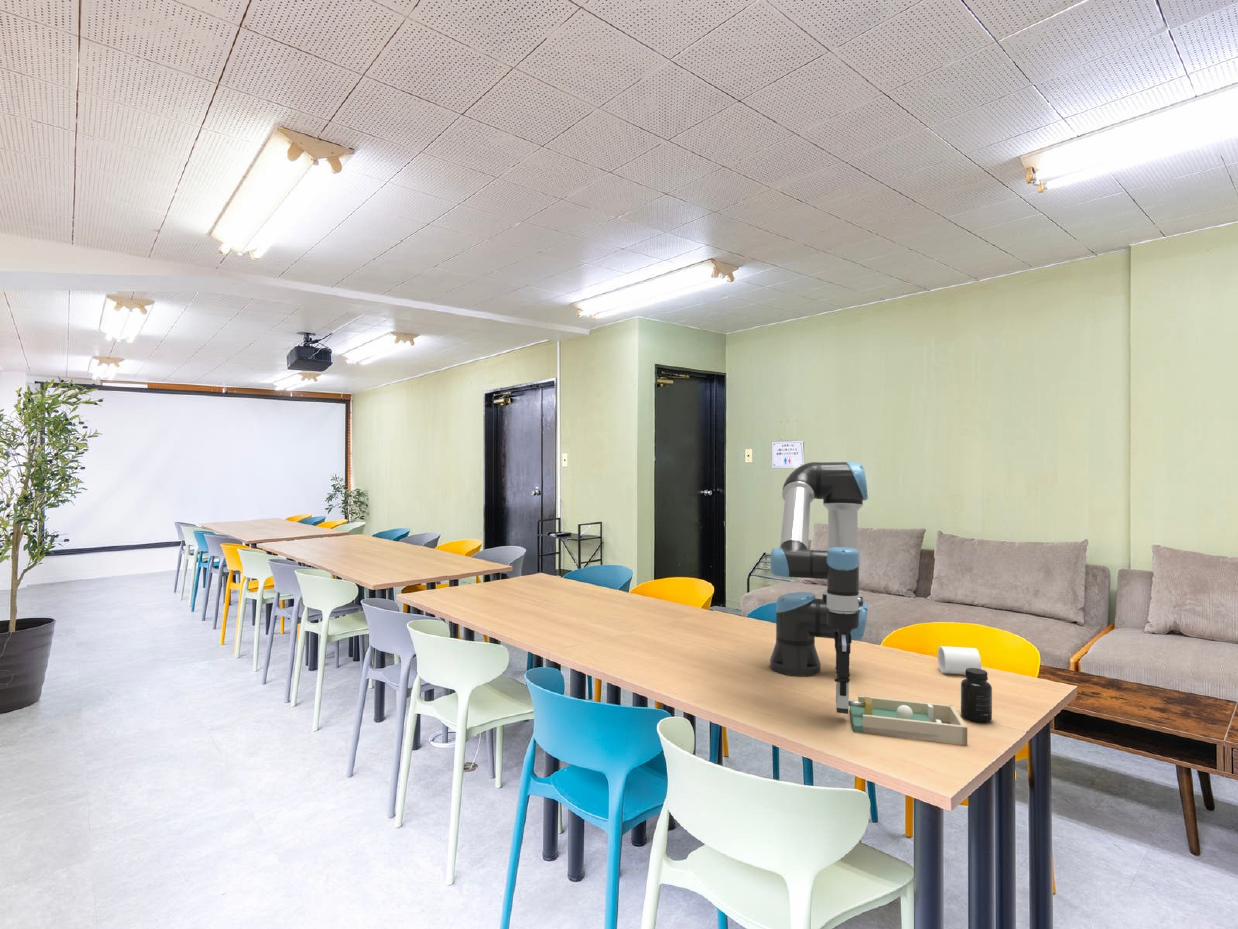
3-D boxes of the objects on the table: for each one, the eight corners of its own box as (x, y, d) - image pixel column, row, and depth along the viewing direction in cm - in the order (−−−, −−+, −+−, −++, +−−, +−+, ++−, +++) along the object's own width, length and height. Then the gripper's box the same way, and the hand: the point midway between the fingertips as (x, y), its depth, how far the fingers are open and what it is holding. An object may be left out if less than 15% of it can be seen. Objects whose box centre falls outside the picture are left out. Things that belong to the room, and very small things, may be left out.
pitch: (854, 732, 148) (854, 715, 148) (849, 710, 161) (849, 694, 162) (967, 745, 141) (967, 727, 141) (953, 721, 155) (953, 705, 155)
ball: (897, 722, 150) (897, 707, 150) (895, 716, 154) (895, 702, 154) (914, 724, 149) (914, 709, 149) (911, 718, 153) (911, 703, 153)
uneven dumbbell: (837, 714, 154) (837, 677, 154) (836, 708, 158) (836, 672, 158) (872, 718, 152) (872, 680, 152) (870, 712, 155) (870, 675, 156)
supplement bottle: (954, 713, 160) (954, 666, 160) (980, 713, 161) (980, 666, 161) (972, 724, 153) (972, 675, 153) (998, 723, 154) (998, 674, 154)
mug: (981, 679, 187) (981, 652, 187) (945, 676, 189) (945, 650, 189) (967, 667, 199) (967, 641, 199) (933, 664, 201) (933, 639, 201)
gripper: (861, 618, 147) (861, 719, 147) (856, 605, 162) (855, 696, 162) (828, 616, 149) (827, 715, 149) (825, 603, 164) (825, 693, 164)
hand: (842, 705), depth 155 cm, fingers closed on uneven dumbbell, 3 cm apart
